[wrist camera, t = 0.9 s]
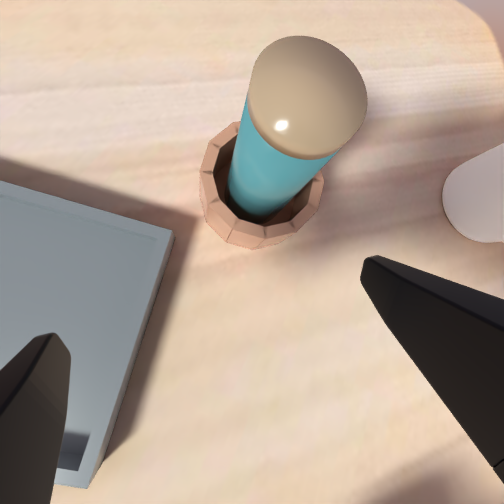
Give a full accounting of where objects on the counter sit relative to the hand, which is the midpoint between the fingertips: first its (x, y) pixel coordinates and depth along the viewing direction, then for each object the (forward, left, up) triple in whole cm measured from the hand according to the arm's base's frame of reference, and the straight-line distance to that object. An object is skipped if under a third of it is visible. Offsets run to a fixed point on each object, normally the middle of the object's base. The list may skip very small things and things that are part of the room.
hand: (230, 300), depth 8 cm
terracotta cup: (-1, -9, -14) cm, 16 cm away
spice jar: (-1, -9, -13) cm, 16 cm away
